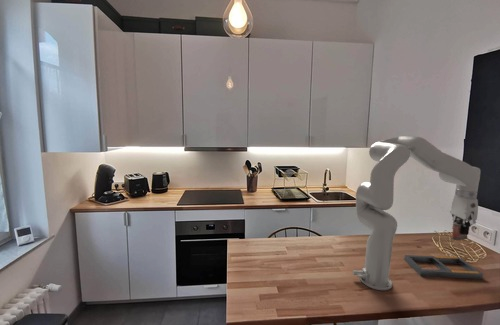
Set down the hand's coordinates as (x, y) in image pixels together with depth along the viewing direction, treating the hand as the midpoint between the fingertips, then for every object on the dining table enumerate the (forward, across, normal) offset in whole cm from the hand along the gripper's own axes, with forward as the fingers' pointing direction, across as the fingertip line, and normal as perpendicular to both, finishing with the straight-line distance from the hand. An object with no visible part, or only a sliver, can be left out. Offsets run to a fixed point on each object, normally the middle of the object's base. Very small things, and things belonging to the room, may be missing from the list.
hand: (460, 231), depth 119 cm
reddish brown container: (+4, 0, 0) cm, 4 cm away
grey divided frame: (+19, 0, +6) cm, 20 cm away
